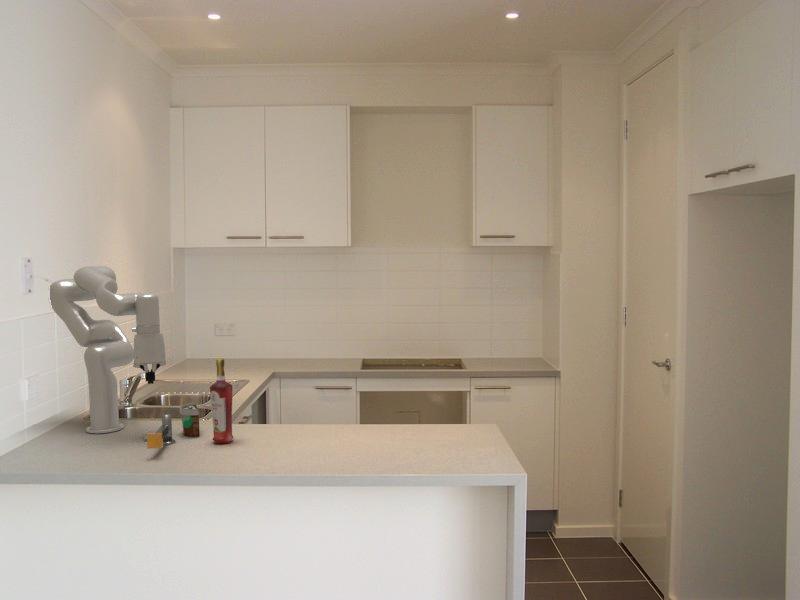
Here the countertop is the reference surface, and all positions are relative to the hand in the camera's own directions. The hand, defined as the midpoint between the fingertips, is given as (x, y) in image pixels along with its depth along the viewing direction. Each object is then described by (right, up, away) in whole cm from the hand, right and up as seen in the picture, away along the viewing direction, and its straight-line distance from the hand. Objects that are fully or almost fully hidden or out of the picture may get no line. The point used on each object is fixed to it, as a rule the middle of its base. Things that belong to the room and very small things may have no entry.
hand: (150, 383), depth 239 cm
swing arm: (+9, -17, -16) cm, 25 cm away
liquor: (+26, -19, -6) cm, 33 cm away
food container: (+12, -19, +5) cm, 23 cm away
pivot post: (+8, -19, -5) cm, 21 cm away
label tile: (0, -19, +1) cm, 19 cm away
